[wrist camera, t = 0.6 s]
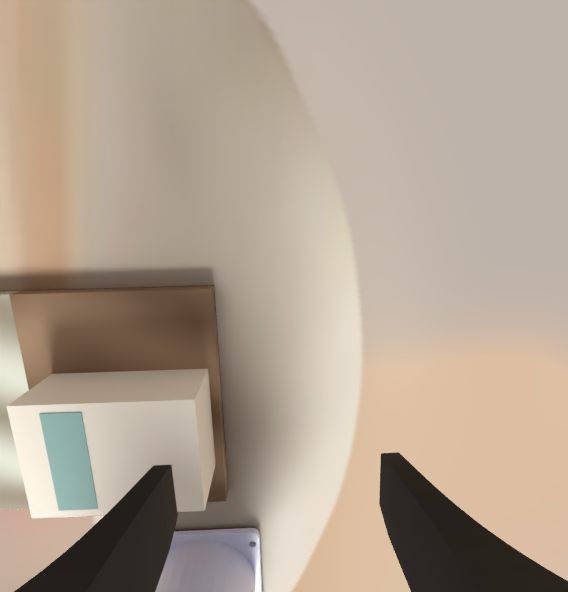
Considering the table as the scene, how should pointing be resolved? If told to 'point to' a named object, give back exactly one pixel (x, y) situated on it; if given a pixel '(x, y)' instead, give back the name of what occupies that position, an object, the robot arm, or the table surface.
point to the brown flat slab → (104, 352)
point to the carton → (112, 438)
